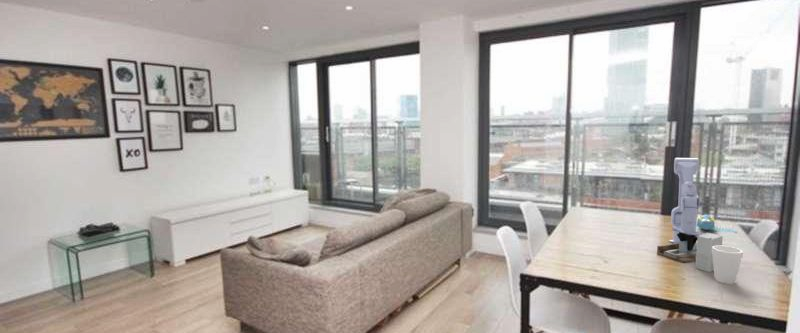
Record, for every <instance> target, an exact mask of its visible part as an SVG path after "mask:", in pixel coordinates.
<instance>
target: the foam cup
mask: <svg viewBox="0 0 800 333" xmlns="http://www.w3.org/2000/svg"><path fill="white" fill-rule="evenodd" d="M743 254H744V251H743V250H742V249H740V248H737V247H733V246H730V245H723V244H722V245H716V246H713V247H712V256H713V266H714V271H713V275H714V280H715V281H717V282H718V283H722V284H726V285H727V284H729V285H733V284H736V281H737V276H738V274H739V269H740V265H741V262H742V261H741V260H742V258H743Z"/></svg>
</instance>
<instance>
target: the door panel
mask: <svg viewBox="0 0 800 333" xmlns="http://www.w3.org/2000/svg"><path fill="white" fill-rule="evenodd" d="M696 248H697V244H696V243H695V244H694V247H693V249H692V250H691V251H688V249H687V241H680V242H679V254H680V253H686V252H692V251H696Z"/></svg>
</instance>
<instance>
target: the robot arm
mask: <svg viewBox="0 0 800 333" xmlns="http://www.w3.org/2000/svg"><path fill="white" fill-rule="evenodd" d="M699 168H700V159H699V158H698V157H692V158H691V157H675V158H674V161H673V172H674V174H675V175H678V179H679V181H678V200H677V201H678V204H677V206H676V207H674V208H672V210H671V214H670V224H671V225H673V226H672V227H671V231H672V232H673V235H672V238H673V239H669V240H668V242H671V243H672V244H673V243H679V242H680V241H687V249H688V251H691V250H692V249H693V247H694V244H695V243H696V245H697V238H698V236H699V235H702V234H703V233H702V232H700V231H697V229H696V225H697V221H698V217H697V216H698V209H699V208H700V197H699V194H698V192H697V191H698V190H697V185H696V184H695V183H694V175H696V174H697V172H698V170H699Z"/></svg>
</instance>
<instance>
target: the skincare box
mask: <svg viewBox="0 0 800 333" xmlns="http://www.w3.org/2000/svg"><path fill="white" fill-rule="evenodd" d="M723 236H724V235H720V234H715V233H712V232H706V233H702V235H699V236H698V238H697V241H696V242H697V244H696V248H697V251H696V261H695V264H694V265H695V266H694V268H695V269H698V270H700V271H704V272H707V273H712V272H714V266H713V256H712V247H713V246H716V245H723V238H724V237H723Z"/></svg>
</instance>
